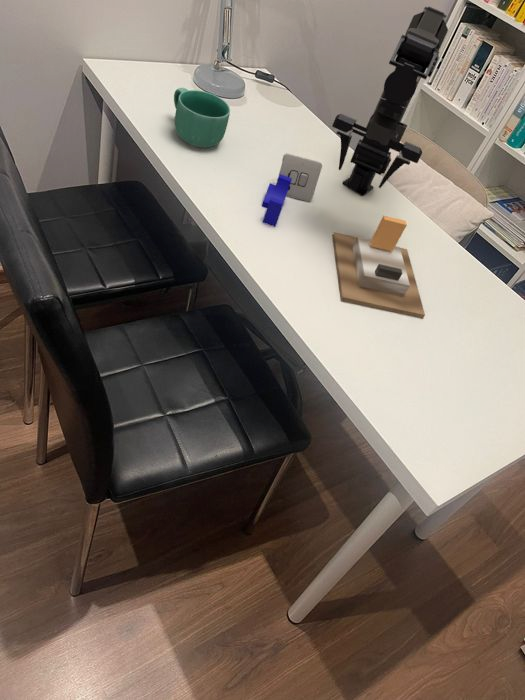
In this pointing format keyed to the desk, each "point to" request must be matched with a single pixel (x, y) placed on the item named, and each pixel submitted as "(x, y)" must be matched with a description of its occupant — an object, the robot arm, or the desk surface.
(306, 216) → the desk surface
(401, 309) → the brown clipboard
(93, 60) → the desk surface
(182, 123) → the mug
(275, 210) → the cable clip
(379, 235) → the orange wedge plank
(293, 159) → the electrical switch
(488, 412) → the desk surface
